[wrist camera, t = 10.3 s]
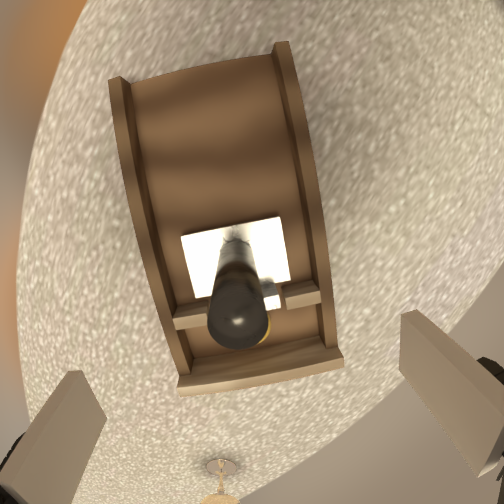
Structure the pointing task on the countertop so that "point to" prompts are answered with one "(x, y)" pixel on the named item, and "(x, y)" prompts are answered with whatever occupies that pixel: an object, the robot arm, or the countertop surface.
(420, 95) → the countertop surface
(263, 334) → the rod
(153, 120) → the lane
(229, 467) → the wineglass
